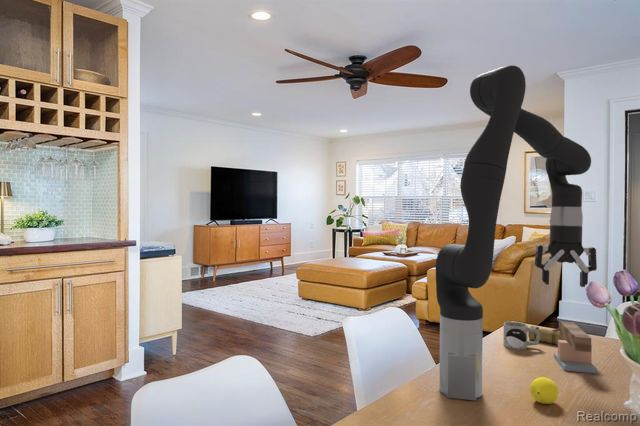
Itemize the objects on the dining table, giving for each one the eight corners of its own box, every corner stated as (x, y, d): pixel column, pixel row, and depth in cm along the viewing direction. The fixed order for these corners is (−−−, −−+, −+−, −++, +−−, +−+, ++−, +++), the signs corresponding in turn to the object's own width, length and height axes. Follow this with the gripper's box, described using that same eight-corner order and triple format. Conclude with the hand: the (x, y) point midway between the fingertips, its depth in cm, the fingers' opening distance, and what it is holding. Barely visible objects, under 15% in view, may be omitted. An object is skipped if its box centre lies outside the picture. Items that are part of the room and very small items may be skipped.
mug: (504, 348, 133) (505, 326, 133) (502, 342, 140) (502, 321, 140) (541, 351, 131) (541, 329, 130) (537, 345, 137) (537, 323, 137)
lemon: (535, 397, 100) (537, 372, 101) (562, 404, 96) (563, 379, 97) (523, 402, 95) (525, 376, 96) (551, 410, 91) (552, 383, 92)
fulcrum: (596, 373, 113) (597, 349, 113) (564, 370, 115) (564, 347, 115) (583, 359, 124) (583, 337, 124) (553, 356, 126) (554, 335, 126)
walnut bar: (591, 352, 111) (591, 338, 111) (575, 350, 112) (575, 336, 112) (573, 334, 127) (573, 322, 127) (559, 333, 128) (559, 321, 128)
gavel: (551, 319, 157) (583, 325, 149) (551, 333, 156) (583, 339, 149) (528, 326, 142) (562, 333, 135) (527, 341, 142) (561, 348, 135)
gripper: (539, 223, 117) (537, 285, 117) (601, 225, 113) (599, 289, 113) (533, 223, 124) (532, 281, 124) (591, 224, 120) (590, 285, 120)
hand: (564, 285), depth 119 cm, fingers open, 8 cm apart
